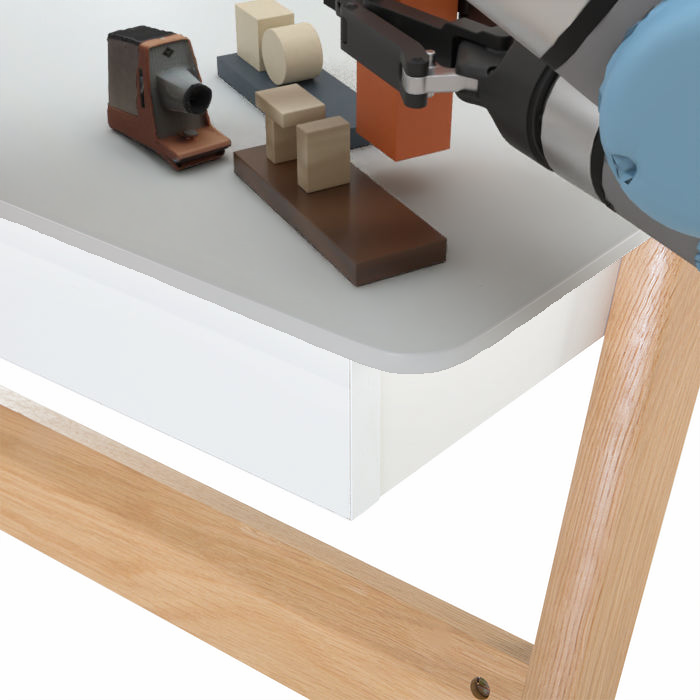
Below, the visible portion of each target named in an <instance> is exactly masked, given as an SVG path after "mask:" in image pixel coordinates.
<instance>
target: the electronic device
mask: <svg viewBox="0 0 700 700" xmlns="http://www.w3.org/2000/svg"><path fill="white" fill-rule="evenodd" d="M106 41H107V93H108V94H107V95H108V98H107V99H108V102H107V110H106V115H107V125H108V127H109V128H110V129H111V130H114V131H117V132H120V133H122V134H124V135H125V136H126V137H128V138H129V139H130V140H132V141H134V142H135V143H136V144H139V145H142V146H143V147H144V148H146V149H150V150H152V151H154V152H155V153H156V154H157V155H158V156H160V157H161V158H162V159H163V160H164V161H165V162H167V163H169V165H170V167H171V168H172V169H173V170H175V171H182V170H185V169H187V168H190V167H195V166H197V165H202V164H203V163H204V164H205V163H207V162H211V161H215V160H219V159H221V158H222V157H224V155H225V153H226V149H228V148H229V149H230V147H232V144H233V143H232V140H231V138H229V137H228V136H226V135H225V134H224V133H222V132H221V131H220V130H219V129H217V128H216V127H215V126H213V124H212V121H211V119H210V115H209V112H208V109H209V108H210V105H211V102H212V99H213V91H212V89H211V87H209V86H207V84H204V83H203V79H202V77H201V73H200V70H199V67H198V61H197V57H196V55H195V51H194V48H193V45H192V41H191V39H190V38H189V37H188V36H184V35H183V34H182V33H180V34H178V33H176V32H174V31H171V30H170V31H169V30H164V29H159V28H156V27H151V26H147V25H143V24H142V25H140V24H139V25H136V26H133V27H127V28H125V29H117V30H114V31H111V32H109V33H107V37H106Z"/></svg>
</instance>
